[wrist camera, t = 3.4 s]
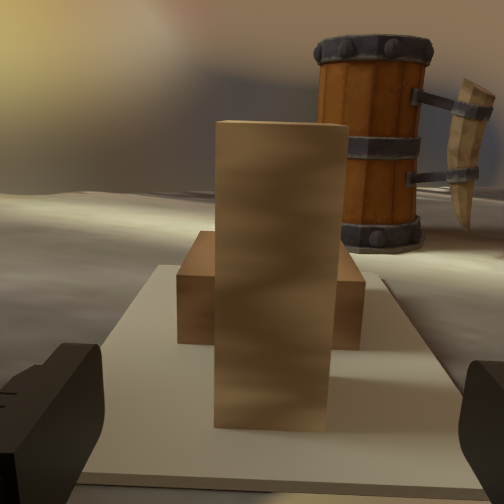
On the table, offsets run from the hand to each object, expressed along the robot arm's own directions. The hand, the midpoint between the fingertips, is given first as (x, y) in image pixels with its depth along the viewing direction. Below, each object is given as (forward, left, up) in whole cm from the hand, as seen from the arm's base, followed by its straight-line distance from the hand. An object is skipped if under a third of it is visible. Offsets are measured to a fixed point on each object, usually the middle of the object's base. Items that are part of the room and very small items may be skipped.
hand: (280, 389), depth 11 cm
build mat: (0, +17, -7) cm, 18 cm away
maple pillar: (0, +10, -7) cm, 12 cm away
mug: (+12, +42, -7) cm, 44 cm away
